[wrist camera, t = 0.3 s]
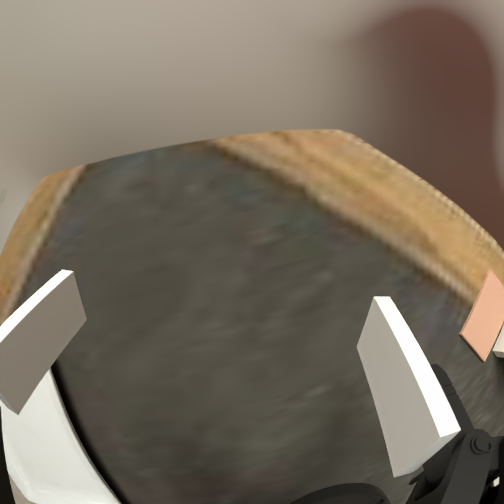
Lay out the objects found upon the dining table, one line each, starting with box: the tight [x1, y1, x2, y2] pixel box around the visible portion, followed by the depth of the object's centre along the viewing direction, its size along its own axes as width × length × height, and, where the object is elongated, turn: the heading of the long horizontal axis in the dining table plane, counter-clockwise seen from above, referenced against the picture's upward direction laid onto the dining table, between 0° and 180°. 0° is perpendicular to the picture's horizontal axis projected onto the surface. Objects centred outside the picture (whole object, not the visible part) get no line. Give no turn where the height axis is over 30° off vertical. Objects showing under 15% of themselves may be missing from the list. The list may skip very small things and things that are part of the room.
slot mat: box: [460, 269, 504, 362], centre depth 24 cm, size 7×10×1 cm
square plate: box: [0, 368, 122, 504], centre depth 21 cm, size 27×27×4 cm
